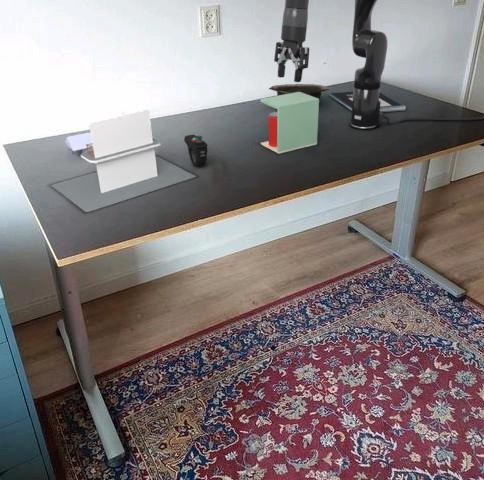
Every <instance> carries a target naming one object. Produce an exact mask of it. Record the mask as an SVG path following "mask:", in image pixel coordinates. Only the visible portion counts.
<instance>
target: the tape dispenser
mask: <svg viewBox="0 0 484 480" xmlns="http://www.w3.org/2000/svg"><path fill="white" fill-rule="evenodd" d="M91 143H92V138H91V132H84V133H80V134H74V135H70V136H66V138H65V140H64V144H65V145H66V146H67V147H68V148H69V149H70V150H71V151H73V152H75V151H79V150H81V154H82V153H85V152H87V146H86V144H90V146H92V145H93V144H91ZM90 146H89V147H88V151H89V150H90V148H91V147H90ZM91 150H93V149H91Z"/></svg>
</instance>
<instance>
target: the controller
mask: <svg viewBox="0 0 484 480" xmlns="http://www.w3.org/2000/svg"><path fill="white" fill-rule="evenodd" d="M183 141H184V143H185V144H186V146H187V151H188V156H189V159H190V162H191V164H192V165H193V166H195V167H202V166H205V165H206V163H207V161H208V151H209V149H208V146H209V145H208V143H207V142H205V140H203V136H202V135H195V134H189V135H188V134H187V135H185V136H184V139H183Z"/></svg>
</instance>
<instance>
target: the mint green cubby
mask: <svg viewBox="0 0 484 480" xmlns="http://www.w3.org/2000/svg"><path fill="white" fill-rule="evenodd" d="M259 103H262V104H264V105H266V106H269V107H271V108H273V109H276V112H277V147H271V146H269V140H266V141H264V142H260V145H261V146H262V147H265V148H267V149H269V150H271V151H272V152H274V153H276V154H277V155H279V154H283V153H287V152H292V151H295V150H299V149H303V148H308V147H312V146H316V145H318V131H319V108H320V102H319V99H318V98H315V97H313V96H310V95H307V94H304V93H302V92H294V93H288V94H283V95H278V96H277V95H272V96H268V97H261V98H259Z"/></svg>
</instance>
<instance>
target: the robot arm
mask: <svg viewBox="0 0 484 480" xmlns="http://www.w3.org/2000/svg"><path fill="white" fill-rule="evenodd" d="M377 2H378V0H354V15H353V27H352V36H351V38H352V39H351V47H352V51H353V53H354V55H355V56H357V57H360V58H363V59H365V62H364V66H363V67H359V68H357V69H355V71H354V80H353V104H352V111H351V118H350V127H352V128H354V129H357V130H372V129H376V128H379V123H383V122H384V119H385V120H386V123H387V124H388V125H395V124H401V123H403V122H407V121H408V122H409V121H443V122H444V121H449V122H451V121H453V122H457V121H460V122H461V121H481V120H484V116H477V117H405V118H402V119H399V120H396V121H392V122H391V121H390V117H389V116H387V115H385V113H384V112H383V111H382V112H381V111H380V103H381V102H380V101H379V93H380V92H381V84H382V83H381V82H382V75H383V72H384V69H385V65H386V59H387V53H388V44H389V43H388V37H387V34H386V33H385V32H383V31H380V30H374V29H372V16H373V10H374V8H375V7H376V4H377ZM309 3H310V0H284V9H283V14H282V20H281V21H282V24H281V32H280V40H281V41H276V43H275V50H274V60H273V61H274V62H275V63H277V65H278V66H277V78H279V79H281V78H285V74H286V73H285V72H286V64H287V62H288V61H289V60H291V62H292V63H293V64H294V68H295V69H294V77H293V81H294V82H295V83H301V82H302V79H303V71H304V70H305V69H308V68H309V59H310V47H309V46H307V47H305V46H303V43H304V42H306V38H307V29H308V20H309Z"/></svg>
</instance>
